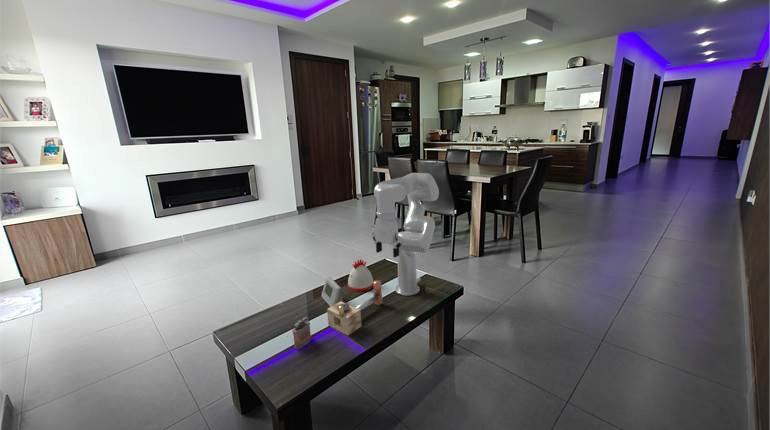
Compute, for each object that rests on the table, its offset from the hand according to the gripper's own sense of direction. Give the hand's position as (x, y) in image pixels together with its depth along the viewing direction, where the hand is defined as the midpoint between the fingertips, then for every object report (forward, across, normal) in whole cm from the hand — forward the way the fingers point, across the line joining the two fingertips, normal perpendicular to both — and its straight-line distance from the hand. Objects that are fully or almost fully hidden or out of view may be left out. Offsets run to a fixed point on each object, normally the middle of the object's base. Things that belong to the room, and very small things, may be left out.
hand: (387, 254), depth 140 cm
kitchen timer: (+28, -30, +12) cm, 43 cm away
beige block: (+28, -8, -20) cm, 36 cm away
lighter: (+29, -13, -38) cm, 49 cm away
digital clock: (+29, -29, -10) cm, 42 cm away
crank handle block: (+20, -7, -22) cm, 31 cm away
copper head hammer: (+28, -9, -6) cm, 30 cm away
